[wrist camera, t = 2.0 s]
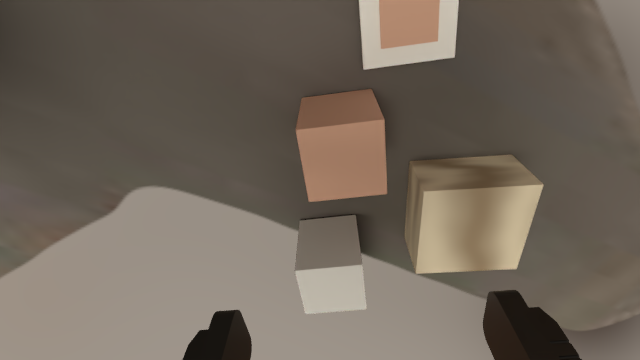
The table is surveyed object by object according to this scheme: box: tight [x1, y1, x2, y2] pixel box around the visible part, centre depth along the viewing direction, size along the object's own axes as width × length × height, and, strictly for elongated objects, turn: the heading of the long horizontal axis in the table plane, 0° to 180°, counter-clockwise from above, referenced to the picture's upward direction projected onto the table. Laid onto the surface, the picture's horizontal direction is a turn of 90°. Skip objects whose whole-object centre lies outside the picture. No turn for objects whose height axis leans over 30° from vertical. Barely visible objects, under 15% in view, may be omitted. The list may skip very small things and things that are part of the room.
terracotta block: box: [296, 89, 387, 202], centre depth 22 cm, size 5×5×6 cm
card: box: [359, 0, 459, 70], centre depth 21 cm, size 6×6×1 cm
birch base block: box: [404, 155, 544, 274], centre depth 27 cm, size 8×8×4 cm
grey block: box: [295, 215, 366, 314], centre depth 28 cm, size 5×5×6 cm
